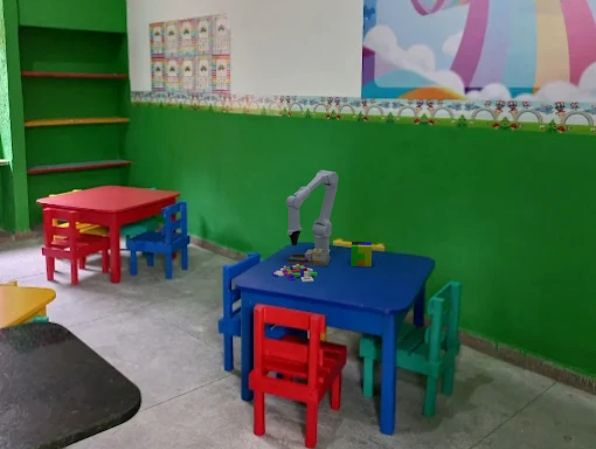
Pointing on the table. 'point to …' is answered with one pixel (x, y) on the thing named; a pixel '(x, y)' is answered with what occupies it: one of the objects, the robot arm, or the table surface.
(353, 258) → the puzzle toy
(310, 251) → the ram
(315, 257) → the housing
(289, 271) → the building block set
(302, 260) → the press bed
